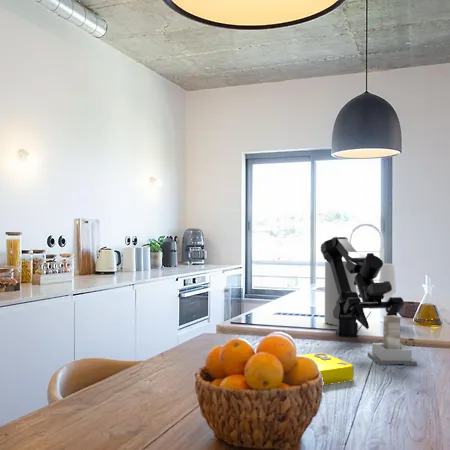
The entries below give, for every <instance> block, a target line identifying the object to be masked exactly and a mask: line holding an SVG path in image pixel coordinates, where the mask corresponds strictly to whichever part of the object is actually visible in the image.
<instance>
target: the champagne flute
mask: <svg viewBox="0 0 450 450" xmlns="http://www.w3.org/2000/svg"><path fill="white" fill-rule="evenodd" d="M384 281H389V282H390V284H391V287H392V290H391V291H390V292H388V293H385V294H384V298H385V302H387V301H388V300H389V298H390V297H394V295H395V294H396V292H397V286H396V275H395V265H394V263H383V266H382V268H381V269H380V280H379V283H383V282H384ZM387 313H388V312H386V311H385V316H387ZM379 322H381V323H384V317H382V318H380V319H379Z"/></svg>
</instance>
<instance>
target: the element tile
mask: <svg viewBox="0 0 450 450" xmlns="http://www.w3.org/2000/svg"><path fill="white" fill-rule="evenodd" d="M297 356H303V357H308V358H311V359H312V360H314V362H315V363H316V364H317V366H318V369H319V371H320V372H321V374H322V377H323V382H324V385H325V386H327V385H326V384H331V383H338V382H344V381H350V380H353V379H354V374H355V373H354V370H355V369H354V364H353V363H350V362H347V361H344V360H342V359H340V358H337V357H334V356H332V355H330V354H327V353H324V352H316V353H307V354H300V355H297ZM353 381H354V380H353ZM344 383H345V382H344ZM338 384H339V383H338ZM331 385H332V384H331Z"/></svg>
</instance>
